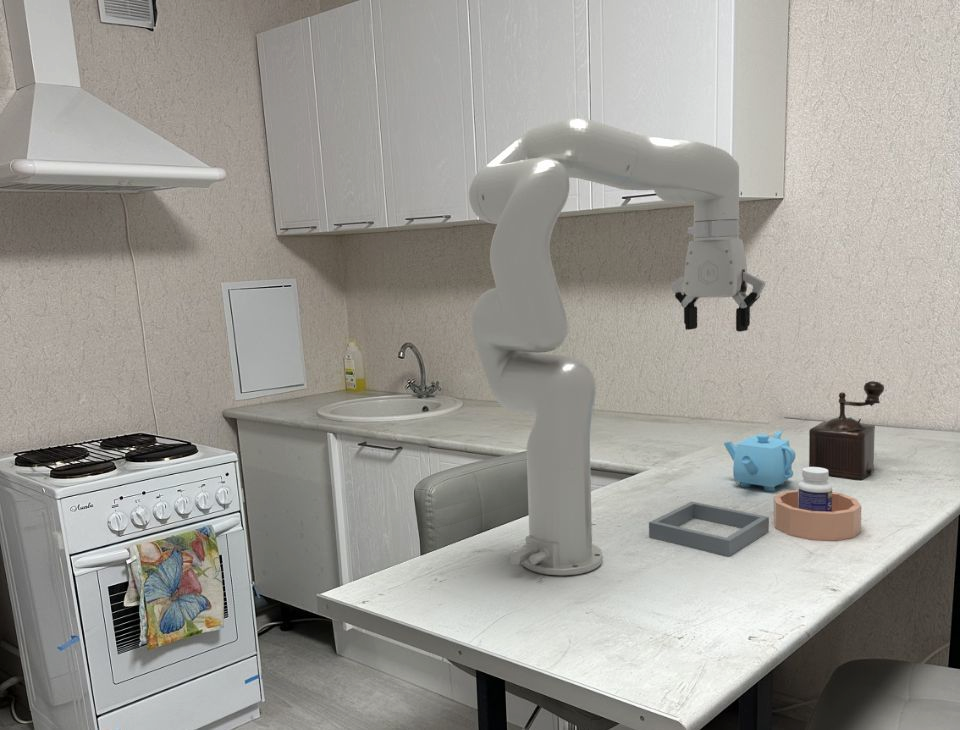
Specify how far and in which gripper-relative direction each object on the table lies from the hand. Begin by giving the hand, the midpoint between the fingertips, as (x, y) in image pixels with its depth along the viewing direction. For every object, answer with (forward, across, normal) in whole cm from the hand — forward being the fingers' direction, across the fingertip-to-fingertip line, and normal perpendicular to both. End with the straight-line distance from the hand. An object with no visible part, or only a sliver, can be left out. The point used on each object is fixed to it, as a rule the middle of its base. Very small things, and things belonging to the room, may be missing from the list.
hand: (716, 329), depth 140 cm
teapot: (+33, 0, +18) cm, 37 cm away
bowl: (+32, +18, 0) cm, 37 cm away
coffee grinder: (+33, +10, +39) cm, 52 cm away
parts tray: (+32, +6, -14) cm, 36 cm away
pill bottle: (+32, +18, 0) cm, 36 cm away
